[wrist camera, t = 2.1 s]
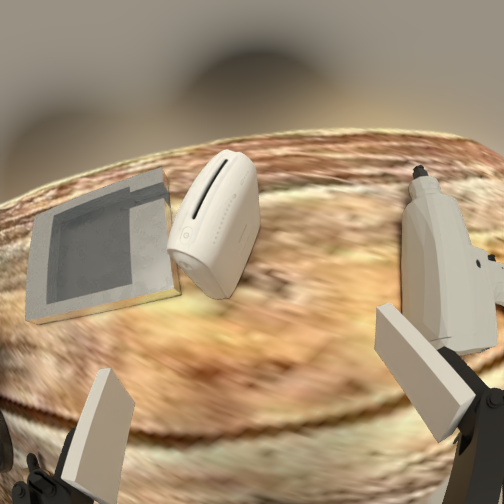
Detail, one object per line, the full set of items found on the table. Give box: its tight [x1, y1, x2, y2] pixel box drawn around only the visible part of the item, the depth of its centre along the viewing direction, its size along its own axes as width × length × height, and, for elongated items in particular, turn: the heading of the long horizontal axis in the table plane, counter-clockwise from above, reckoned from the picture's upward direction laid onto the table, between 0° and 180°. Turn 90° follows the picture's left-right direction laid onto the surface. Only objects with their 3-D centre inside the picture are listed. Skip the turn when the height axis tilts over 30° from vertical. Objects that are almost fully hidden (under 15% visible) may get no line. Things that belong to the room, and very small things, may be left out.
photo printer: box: [167, 150, 260, 299], centre depth 24 cm, size 10×4×12 cm, turn 159°
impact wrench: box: [401, 165, 504, 356], centre depth 26 cm, size 8×23×25 cm
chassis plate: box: [25, 167, 181, 325], centre depth 30 cm, size 22×16×2 cm
